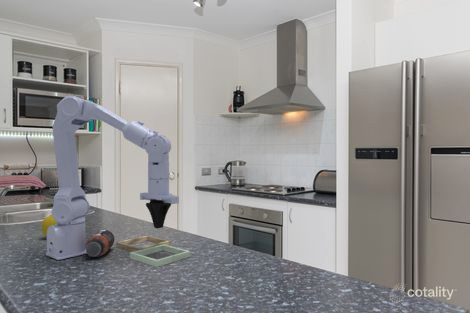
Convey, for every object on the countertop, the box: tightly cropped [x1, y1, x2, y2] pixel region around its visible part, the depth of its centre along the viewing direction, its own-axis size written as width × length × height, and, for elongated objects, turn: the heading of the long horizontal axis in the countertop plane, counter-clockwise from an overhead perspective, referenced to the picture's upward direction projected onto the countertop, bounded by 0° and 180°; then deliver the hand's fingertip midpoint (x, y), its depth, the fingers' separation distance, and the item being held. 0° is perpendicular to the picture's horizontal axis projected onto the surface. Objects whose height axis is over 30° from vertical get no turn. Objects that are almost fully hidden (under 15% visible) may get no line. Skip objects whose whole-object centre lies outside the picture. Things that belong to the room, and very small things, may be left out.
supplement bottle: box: [85, 229, 115, 258], centre depth 98 cm, size 6×6×11 cm
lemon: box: [41, 214, 57, 238], centre depth 116 cm, size 6×6×8 cm
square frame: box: [129, 244, 191, 268], centre depth 95 cm, size 12×12×2 cm
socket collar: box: [116, 235, 172, 253], centre depth 107 cm, size 12×12×2 cm
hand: (158, 227), depth 97 cm, fingers closed
